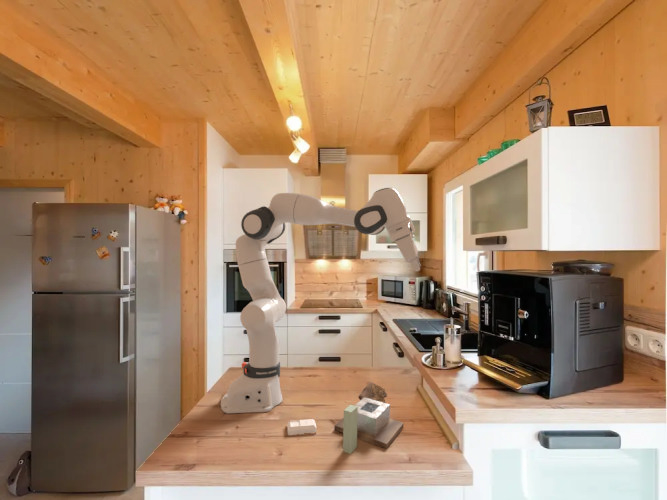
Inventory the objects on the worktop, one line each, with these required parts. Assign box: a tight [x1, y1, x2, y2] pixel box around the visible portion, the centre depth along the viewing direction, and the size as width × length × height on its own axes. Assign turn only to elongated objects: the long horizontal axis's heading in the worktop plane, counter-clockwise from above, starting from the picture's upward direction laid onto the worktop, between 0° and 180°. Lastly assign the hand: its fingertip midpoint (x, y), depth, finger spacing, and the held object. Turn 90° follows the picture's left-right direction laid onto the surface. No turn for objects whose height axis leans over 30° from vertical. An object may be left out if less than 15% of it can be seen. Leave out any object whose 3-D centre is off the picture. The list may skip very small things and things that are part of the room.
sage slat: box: [342, 404, 358, 455], centre depth 98 cm, size 2×4×12 cm, turn 148°
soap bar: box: [286, 418, 318, 436], centre depth 107 cm, size 5×9×3 cm, turn 100°
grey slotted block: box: [354, 397, 391, 437], centre depth 109 cm, size 9×11×6 cm
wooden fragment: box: [358, 381, 388, 403], centre depth 133 cm, size 26×11×1 cm, turn 172°
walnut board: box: [334, 417, 404, 450], centre depth 109 cm, size 18×14×2 cm
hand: (418, 268), depth 114 cm, fingers open, 8 cm apart
